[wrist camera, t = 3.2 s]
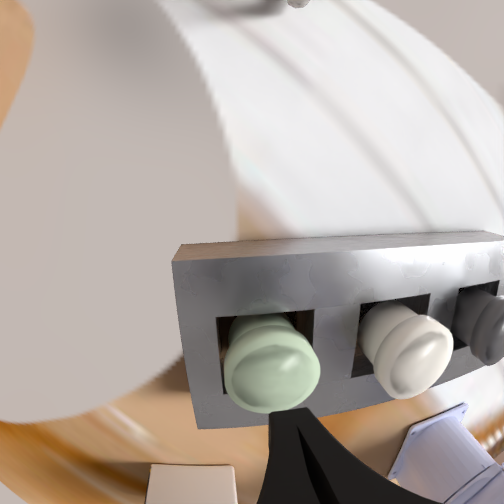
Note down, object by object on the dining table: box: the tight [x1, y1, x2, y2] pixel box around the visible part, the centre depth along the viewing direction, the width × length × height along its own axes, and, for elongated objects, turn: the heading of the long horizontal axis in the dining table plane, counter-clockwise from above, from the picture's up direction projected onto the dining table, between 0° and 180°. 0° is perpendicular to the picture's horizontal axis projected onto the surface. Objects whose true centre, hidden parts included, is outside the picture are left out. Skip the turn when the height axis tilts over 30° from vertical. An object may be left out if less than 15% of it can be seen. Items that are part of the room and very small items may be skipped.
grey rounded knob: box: [450, 286, 504, 366], centre depth 14 cm, size 4×4×4 cm
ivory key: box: [357, 300, 453, 399], centre depth 14 cm, size 4×4×4 cm
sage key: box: [224, 312, 320, 413], centre depth 14 cm, size 4×4×4 cm
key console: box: [172, 231, 504, 429], centre depth 17 cm, size 10×22×4 cm, turn 92°
